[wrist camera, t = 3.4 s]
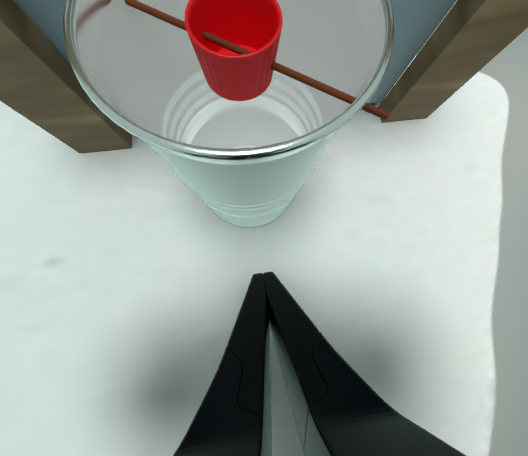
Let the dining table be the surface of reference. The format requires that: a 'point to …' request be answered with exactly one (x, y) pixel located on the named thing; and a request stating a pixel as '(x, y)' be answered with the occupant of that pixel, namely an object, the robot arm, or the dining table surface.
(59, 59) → the door frame
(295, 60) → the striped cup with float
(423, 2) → the door
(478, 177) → the dining table surface
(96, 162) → the dining table surface
